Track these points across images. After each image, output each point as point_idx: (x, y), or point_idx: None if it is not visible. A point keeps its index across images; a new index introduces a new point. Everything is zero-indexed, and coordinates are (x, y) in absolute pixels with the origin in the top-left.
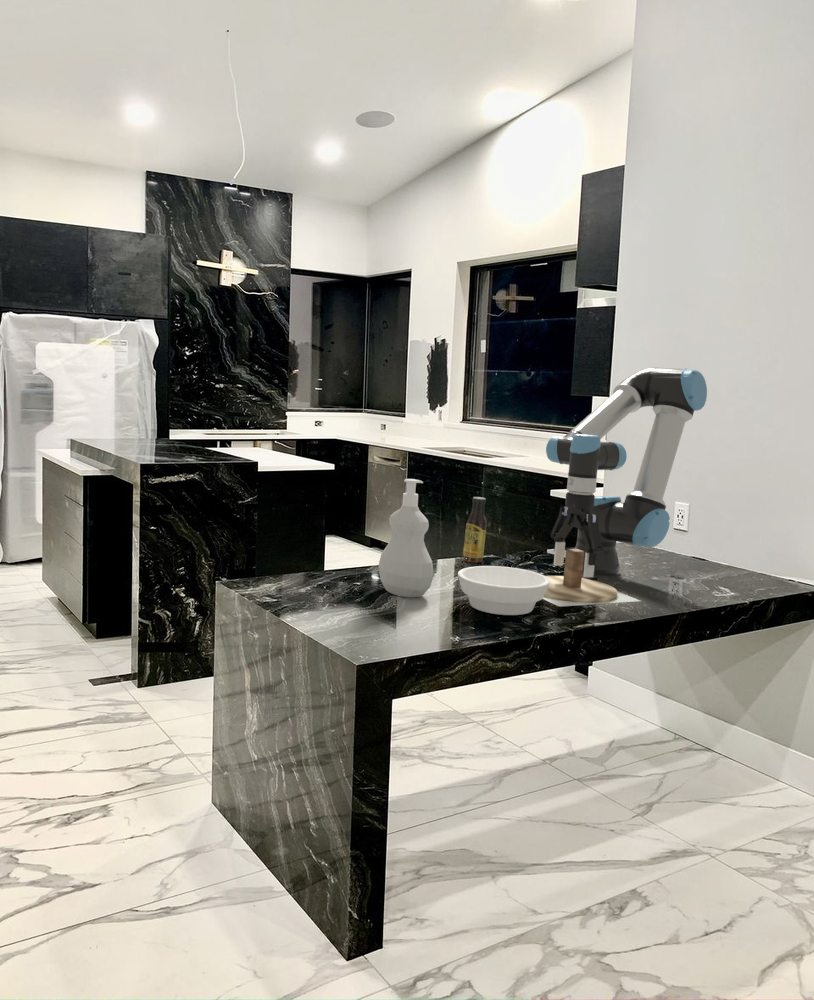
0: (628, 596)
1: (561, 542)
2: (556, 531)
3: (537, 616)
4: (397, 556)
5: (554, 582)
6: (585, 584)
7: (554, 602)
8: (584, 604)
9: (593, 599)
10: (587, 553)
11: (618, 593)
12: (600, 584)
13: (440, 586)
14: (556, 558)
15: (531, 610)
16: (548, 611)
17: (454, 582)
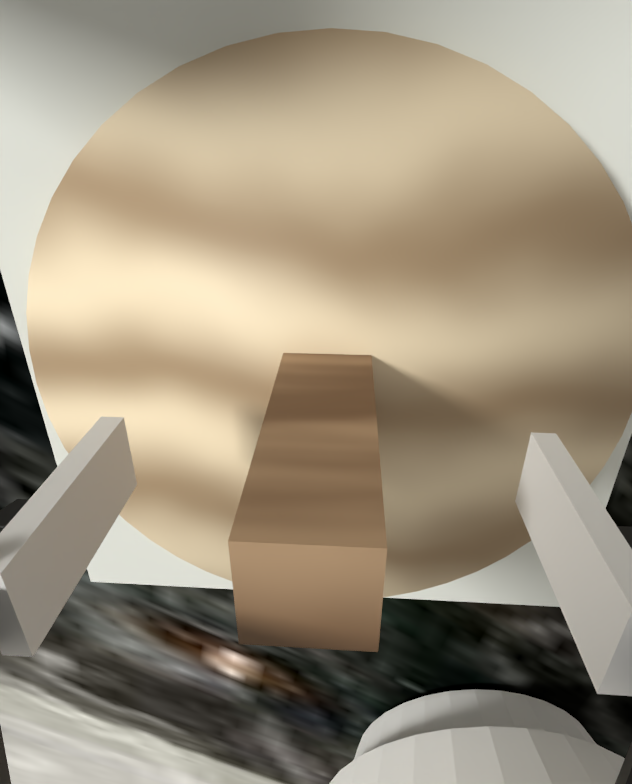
0: (613, 9)
1: (16, 614)
2: None
3: (610, 707)
4: None
5: (210, 434)
6: (294, 256)
7: (507, 590)
8: (607, 488)
9: (617, 435)
10: (628, 685)
11: (497, 39)
12: (316, 111)
13: (145, 762)
14: (111, 518)
15: (583, 727)
16: (577, 648)
17: (85, 711)
